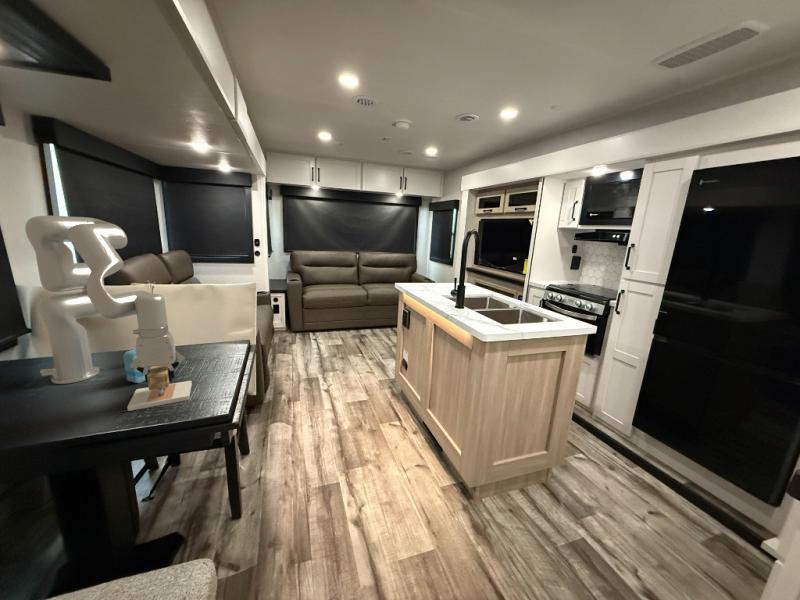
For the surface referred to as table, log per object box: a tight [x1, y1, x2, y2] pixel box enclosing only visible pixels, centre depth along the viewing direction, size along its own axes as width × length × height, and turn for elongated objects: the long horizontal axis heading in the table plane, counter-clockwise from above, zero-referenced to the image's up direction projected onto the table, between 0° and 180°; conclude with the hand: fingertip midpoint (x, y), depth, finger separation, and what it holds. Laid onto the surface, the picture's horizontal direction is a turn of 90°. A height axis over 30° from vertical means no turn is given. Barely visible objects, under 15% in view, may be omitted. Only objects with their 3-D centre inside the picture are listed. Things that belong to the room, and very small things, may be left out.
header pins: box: [158, 388, 166, 396], centre depth 105 cm, size 1×5×3 cm, turn 30°
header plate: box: [126, 380, 193, 412], centre depth 106 cm, size 16×12×2 cm
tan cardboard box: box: [147, 365, 171, 390], centre depth 104 cm, size 5×9×5 cm, turn 29°
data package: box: [122, 348, 151, 384], centre depth 117 cm, size 12×4×12 cm, turn 165°
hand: (160, 381), depth 104 cm, fingers closed on tan cardboard box, 5 cm apart
